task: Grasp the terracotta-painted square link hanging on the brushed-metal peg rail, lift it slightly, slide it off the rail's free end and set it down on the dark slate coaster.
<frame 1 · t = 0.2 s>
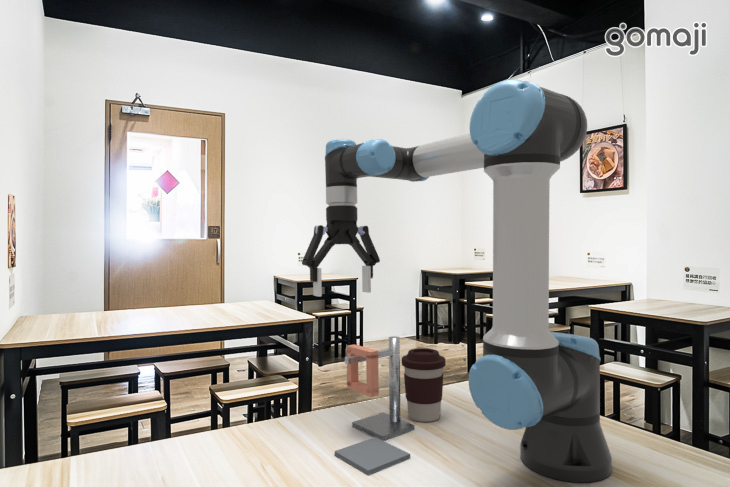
hand: (342, 294, 115), 28 cm above the table, fingers open, 13 cm apart
coaster: (372, 456, 89), on the table
link: (362, 391, 99), point 9 cm above the table, touching stand
stand: (384, 427, 103), on the table
coffee cup: (424, 417, 109), on the table
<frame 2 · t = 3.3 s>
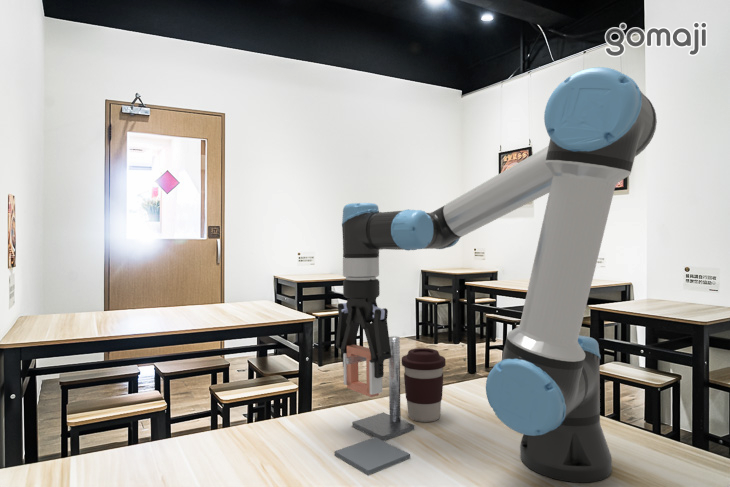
hand: (362, 387, 99), 10 cm above the table, fingers closed on link, 8 cm apart
link: (362, 391, 99), point 9 cm above the table, touching gripper, stand
everything else where it was.
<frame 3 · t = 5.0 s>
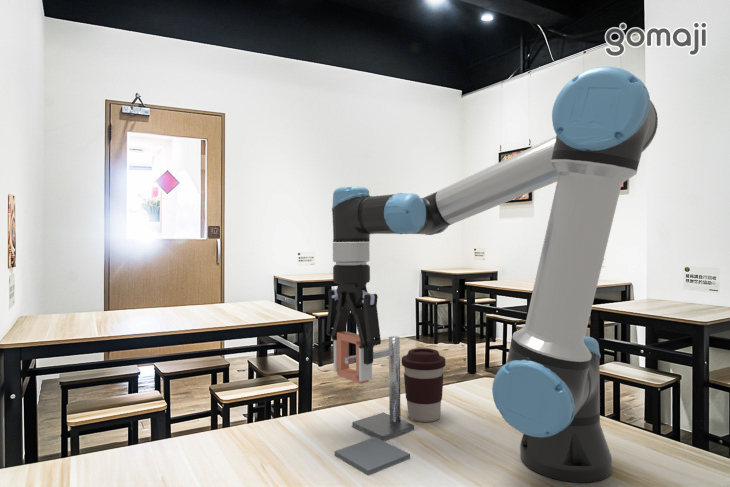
hand: (352, 374, 98), 13 cm above the table, fingers closed on link, 8 cm apart
link: (352, 378, 98), point 12 cm above the table, touching gripper
everything else where it was.
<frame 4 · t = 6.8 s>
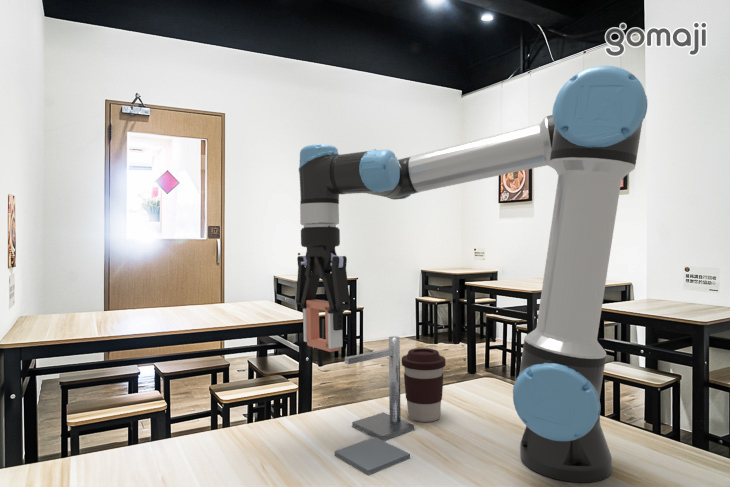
hand: (322, 343, 93), 20 cm above the table, fingers closed on link, 8 cm apart
link: (322, 347, 93), point 20 cm above the table, touching gripper
everything else where it was.
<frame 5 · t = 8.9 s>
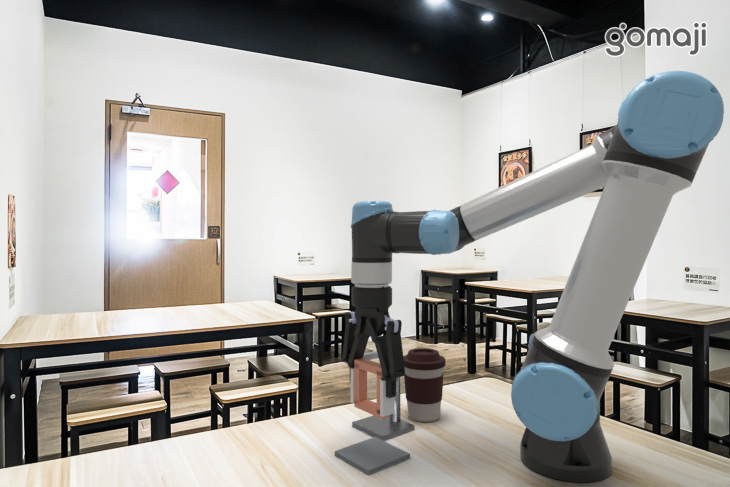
hand: (371, 407, 89), 9 cm above the table, fingers closed on link, 8 cm apart
link: (371, 411, 89), point 9 cm above the table, touching gripper
everything else where it was.
when the fingers open (3 cm above the table, at t = 10.5 s): link stays where it is, resting on coaster.
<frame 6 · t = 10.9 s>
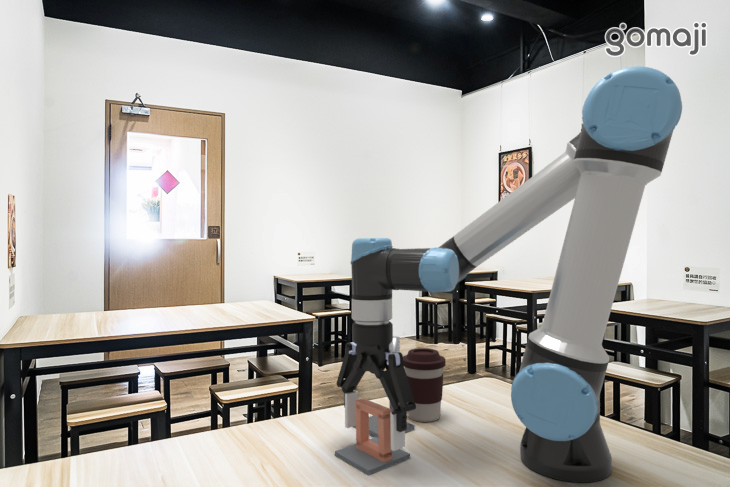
hand: (373, 436, 88), 4 cm above the table, fingers open, 13 cm apart
link: (373, 453, 88), point 1 cm above the table, touching coaster
everything else where it was.
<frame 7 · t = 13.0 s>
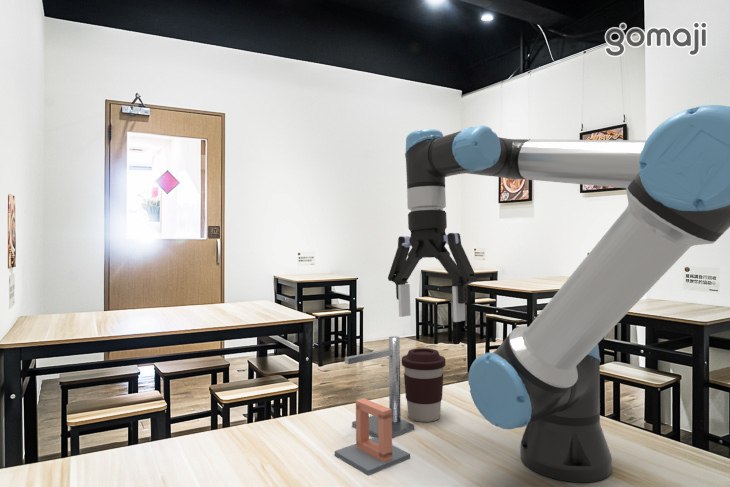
hand: (430, 318, 94), 25 cm above the table, fingers open, 13 cm apart
nothing on the table moved.
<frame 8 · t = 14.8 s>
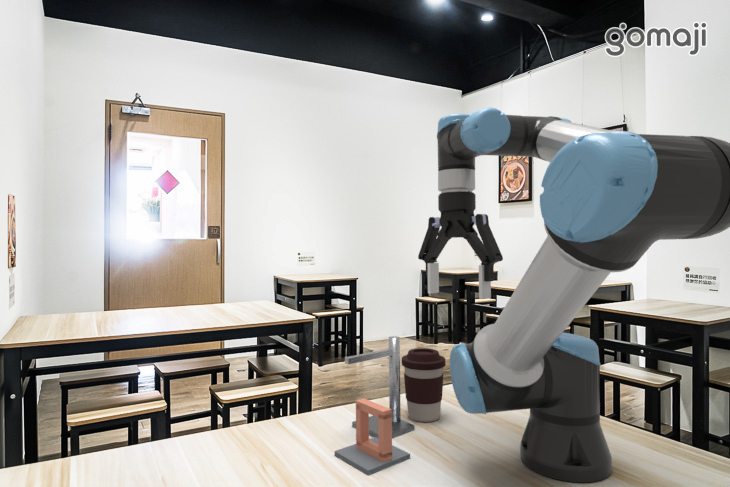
hand: (457, 295, 98), 29 cm above the table, fingers open, 13 cm apart
nothing on the table moved.
at the end: link inside the target area on the coaster (0.5 cm from its centre), point 0.8 cm above the coaster's base; link touching coaster; the gripper is holding nothing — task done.
